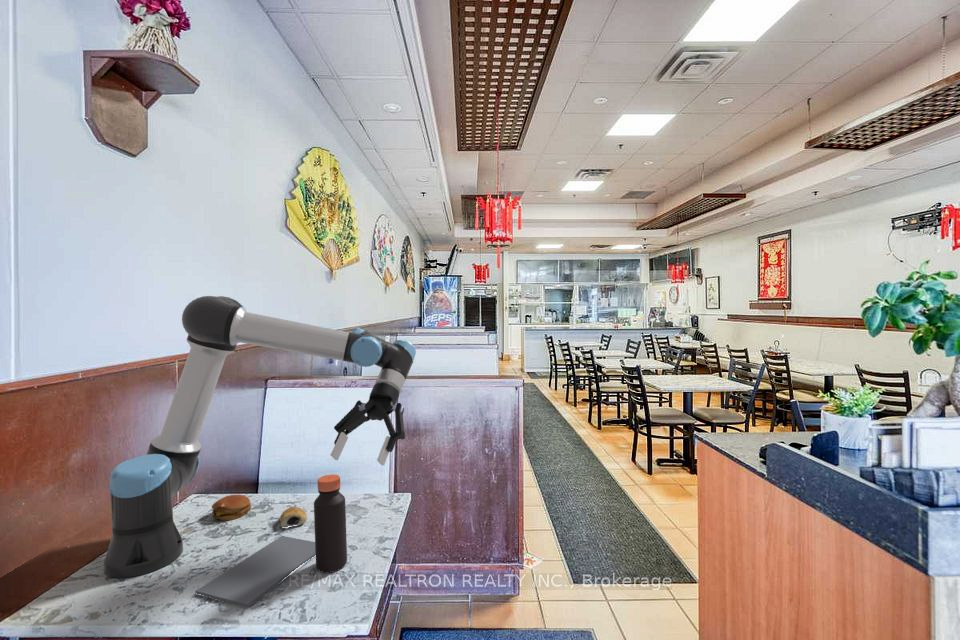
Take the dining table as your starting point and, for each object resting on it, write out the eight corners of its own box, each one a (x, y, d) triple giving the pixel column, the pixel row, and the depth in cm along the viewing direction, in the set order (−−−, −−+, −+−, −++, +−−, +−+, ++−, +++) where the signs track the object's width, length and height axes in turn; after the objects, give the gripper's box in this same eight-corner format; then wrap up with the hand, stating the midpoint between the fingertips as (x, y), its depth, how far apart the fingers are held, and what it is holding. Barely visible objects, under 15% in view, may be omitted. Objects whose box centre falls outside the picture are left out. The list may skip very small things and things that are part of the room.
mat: (195, 594, 96) (195, 590, 96) (282, 538, 119) (281, 535, 119) (247, 608, 91) (247, 604, 91) (327, 547, 114) (327, 544, 114)
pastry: (279, 516, 132) (279, 503, 132) (305, 512, 134) (305, 499, 134) (280, 531, 123) (280, 517, 123) (307, 526, 126) (307, 512, 126)
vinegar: (311, 573, 103) (308, 484, 102) (321, 557, 109) (318, 473, 109) (342, 573, 103) (339, 483, 102) (350, 556, 109) (347, 472, 109)
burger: (253, 505, 140) (252, 489, 140) (247, 518, 131) (246, 502, 131) (216, 510, 137) (215, 494, 137) (208, 524, 128) (207, 507, 128)
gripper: (432, 399, 127) (406, 472, 114) (355, 394, 136) (323, 462, 122) (422, 383, 122) (394, 457, 108) (343, 379, 131) (308, 448, 117)
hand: (356, 460), depth 115 cm, fingers open, 13 cm apart
